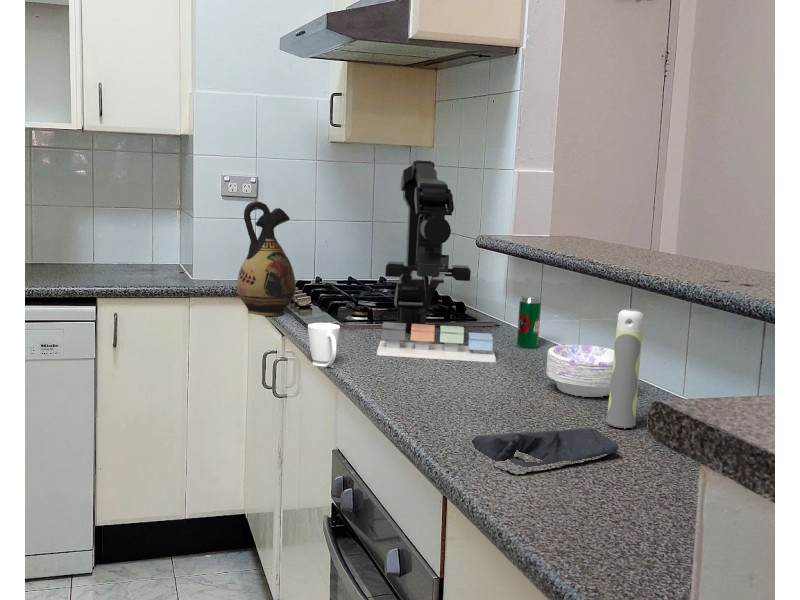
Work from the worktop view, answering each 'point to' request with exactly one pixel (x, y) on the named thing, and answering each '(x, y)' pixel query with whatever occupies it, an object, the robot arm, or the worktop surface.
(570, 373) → the paper bowls
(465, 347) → the keypad
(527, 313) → the soda can
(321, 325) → the cup
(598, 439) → the crumpled dark cloth
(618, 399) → the spray bottle
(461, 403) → the worktop surface
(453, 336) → the key sage
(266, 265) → the ceramic jug
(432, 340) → the key terracotta
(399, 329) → the key charcoal
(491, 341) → the key blue
